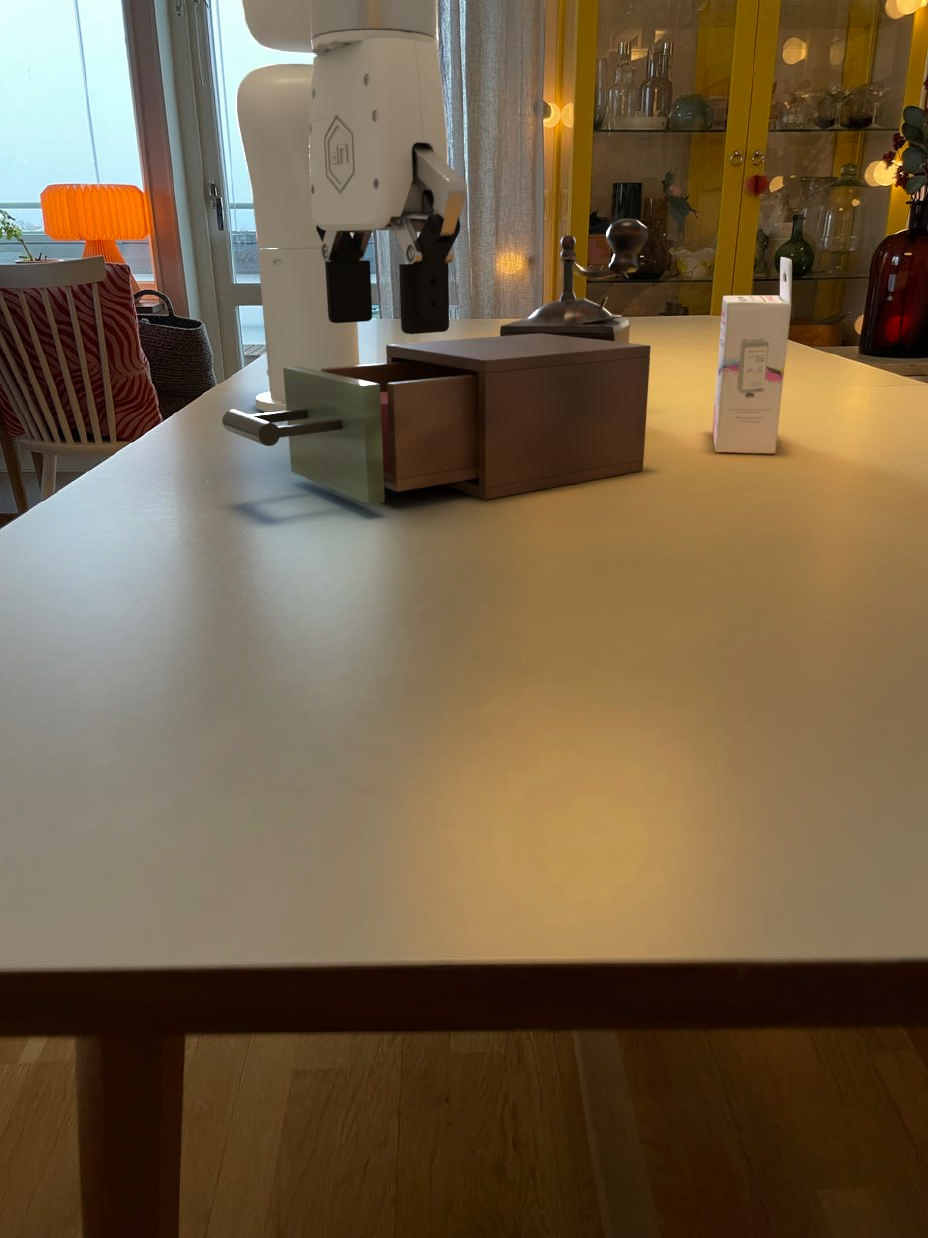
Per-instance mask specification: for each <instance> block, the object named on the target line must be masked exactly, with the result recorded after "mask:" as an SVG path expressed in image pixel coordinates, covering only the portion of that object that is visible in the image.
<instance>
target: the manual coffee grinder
mask: <svg viewBox="0 0 928 1238" xmlns="http://www.w3.org/2000/svg"><path fill="white" fill-rule="evenodd" d="M648 237H649V231H648V227H647V226H646V225H644V224H643V223H642V222H641V221H640V220H637V219H634V218H628V217H627V218H620V219H618V220H616V221H614V222H612V223H611V224H610V225H609V227H608V228H607V230H606V239H605V240H606V243H607V244H608V245H609V247H610V248H611V251H612V254H613V255H612V257H611V261H610V262H609V264H608V268H605V269H592V268H586V267H583V266H581V265H579V264H578V263H576V262H577V252H575V247H576V243H577V241H576V238H575V236H573V235H571V234H566V235H564V236H563V237H562V238H561V240H560V247H561V249H562V251H561V252H560V260H559V261H560V262H561V263H562V293H561V295H560V296H559V297H560V298H559V300H554V301H549V302H548V303H545V304H544V305H542V306H540V307H539V308H536V310H535V311H534V312H533V313H531V315H530V316H528V317H527V318H524V319H519V320H516V321H512V322H508V323H506V324H502V325H500V327H499V328H500V330H499V336H511V335H525V334H538V333H542V334H551V335H560V336H569V337H579V338H588V339H597V340H606V341H615V342H625V343H630V329H631V318H630V317H622V315H620V314H613V313H611V312H610V311H608V310H607V309H606V308H605V306H606V303H607V301H608V297H605V298H604V299H603V300H602V301H601V304H598V303H596V302H594V301H591V300H589V299H587V298H586V297H580V298H577V297H576V294H575V292H574V275H575V276H577V277H581V278H584V279H590V280H602V279H603V280H604V279H607V278H611V277H614V276H619V277H620V278H624V276H625V275H627V274H629V273H636V271H638V270H639V269H640V266H639V264H638V255H639V253H640V251H641V249H642V248H643V247H644V246H645V244H646V243H647V241H648Z"/></svg>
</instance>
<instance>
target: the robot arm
mask: <svg viewBox="0 0 928 1238" xmlns="http://www.w3.org/2000/svg"><path fill="white" fill-rule="evenodd" d="M438 1H439V0H241V7H242V13H243V18H244V21H245V24H246V27H247V31H248V32H249V35H250V36H251V39H252V40H253V41H254V42H255V43H256V44H258V45H259V46H260V47H262V48H264V49H267V50H270V51H272V52H273V51H274V52H280V53H289V54H301V55H302V54H303V55H315V56H314V57H313V61H312V63H287V62H286V63H272V64H267V65H262V66H259V67H257V68H254V69H253V70H251V71H249V72H248V73H247V74H246V75H245V76H244V77H243V78H242V80H241V81H240V83H239V84H238V87H237V91H236V96H235V115H236V121H237V128H238V133H239V138H240V142H241V147H242V151H243V155H244V160H245V165H246V169H247V174H248V179H249V185H250V192H251V196H252V197H251V198H252V207H253V214H254V215H253V216H254V225H255V235H256V247H257V255H258V257H257V259H258V268H259V279H260V280H259V281H260V292H261V293H260V294H261V304H262V316H263V327H264V341H265V351H266V363H267V364H266V365H267V369H266V376H267V377H268V385H269V391H267V392H263V393H260V394H258V395H257V396H255V406H256V407H255V408H256V409H258V411H261V412H263V413H270V412H279V411H287V410H286V397H285V385H284V372H283V368H284V367H293V366H300V367H304V368H309V369H313V370H318V371H321V369H322V368H332V367H344V366H355V365H360V347H359V329H358V328H359V327H358V326H359V325H358V323H361V322H362V323H363V322H370V321H371V320H372V319H373V301H372V300H373V299H372V298H373V297H372V281H371V280H372V276H371V260H368V259H367V260H365V259H364V258H365V254H366V252H367V249H368V248H367V247H368V246H369V242H370V239H371V237H372V233H373V231H393V232H394V235H395V237H396V239H397V242H398V245H399V247H400V249H401V251H402V254H403V256H404V258H405V260H406V262H407V263H399V264H398V267H399V268H398V269H399V272H398V273H399V299H400V300H399V301H400V302H399V303H400V304H399V305H400V306H399V307H400V329H401V332H402V333H404V334H407V335H418V334H434V333H444V332H447V331H448V330H449V329H450V287H449V284H450V281H449V280H450V279H449V277H450V275H449V264H451V263H452V262H453V260H454V257H455V249H454V246H453V245H454V244H455V241H456V240H457V238H458V236H459V234H460V232H461V220H460V219H461V215H462V213H463V212H462V211H463V209H464V205H465V200H466V196H467V192H468V185H467V181H466V180H465V179H464V178H463V177H462V176H461V175H460V174H458V172H456V170H454V168H452V167H451V166H450V165H449V151H448V135H447V133H448V132H447V119H446V107H445V95H444V85H443V79H442V72H441V64H440V57H439V2H438ZM417 233H419V235H417ZM363 259H364V260H363Z"/></svg>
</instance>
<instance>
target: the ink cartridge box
mask: <svg viewBox="0 0 928 1238" xmlns="http://www.w3.org/2000/svg"><path fill="white" fill-rule="evenodd" d="M779 261H780V262H779V265H780V266H779V295H723V296H722V303H721V310H720V311H721V312H720V313H721V314H720V315H721V316H720V326H719V327H720V328H719V329H720V330H719V343H718V357H717V368H716V381H715V394H714V404H713V405H714V407H713V417H712V429H711V431H712V432H711V433H712V438H713V444H714V451H715V453H738V454H768V455H769V454H770V455H771V454H775V453H776V450H777V443H778V433H779V422H780V415H781V404H782V403H781V402H782V395H783V386H784V378H785V377H784V375H785V367H786V359H787V351H788V349H787V348H788V342H789V341H788V340H789V331H790V321H791V311H792V283H793V282H792V281H793V261H792V259H791V258H788V257H785V256H784V257H783V256H781V257H780V260H779Z"/></svg>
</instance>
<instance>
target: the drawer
mask: <svg viewBox="0 0 928 1238" xmlns="http://www.w3.org/2000/svg"><path fill="white" fill-rule="evenodd" d="M283 372H284V385H285V397H286V410H287V411H279V412H270V413H269V412H263V413H261V412H260V413H254V414H247V413H244V412H242V411H239V410H237V409H230V410H227V411H226V412H225V413H224V414H223V416H222V425H223V428H224V429H225V430H227V432H230V433H233V434H234V435H235V434H236V435H238V436H241V437H243V438H246V439H248V440H250V441H253V442H255V443H258V444H261V445H263V446H266V447H272V446H275V445H276V444H277V443H278V442H279V440H280V438H287V437H288V445H289V457H290V471H291V472H292V473H294V474H296V475H299V476H300V477H303V478H305V479H308V480H310V481H312V482H315V483H317V484H319V485H322V486H325V487H326V488H329V489H331V490H334V491H336V492H338V493H340V494H343V495H345V496H348V497H350V498H352V499H354V500H357V501H359V502H361V503H364V504H365V505H374V504H375V505H376V504H381V503H385V502H386V501H385V500H386V499H385V488H386V489H389V490H391V491H394V492H397V493H399V492H405V491H410V490H417V489H422V488H429V487H434V486H440V485H442V484H447V483H453V482H458V481H464V480H470V479H476V478H479V372H477V371H471V370H465V369H459V368H454V367H448V366H442V365H436V364H430V363H425V362H419V361H401V362H390V363H387V362H380V363H379V362H378V363H369V364H359V365H355V366H344V367H332V368H322V369H321V371H318V370H313V369H309V368H304V367H300V366H293V367H284V368H283ZM380 392H387V393H388V419H389V444H390V469H388V470H383V448H382V425H381V401H380ZM282 422H287V424H284V425H277V424H275V423H282Z"/></svg>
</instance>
